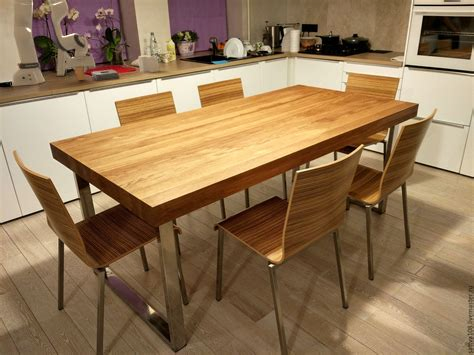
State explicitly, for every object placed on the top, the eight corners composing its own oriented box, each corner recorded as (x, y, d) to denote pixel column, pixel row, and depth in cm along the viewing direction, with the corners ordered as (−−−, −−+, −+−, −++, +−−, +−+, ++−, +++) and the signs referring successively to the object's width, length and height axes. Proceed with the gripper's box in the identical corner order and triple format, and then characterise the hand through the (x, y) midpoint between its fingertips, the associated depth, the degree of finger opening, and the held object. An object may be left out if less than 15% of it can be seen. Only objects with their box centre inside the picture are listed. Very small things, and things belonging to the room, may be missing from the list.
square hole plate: (97, 80, 289) (96, 74, 287) (92, 77, 301) (91, 71, 300) (118, 77, 296) (118, 72, 294) (113, 74, 308) (112, 69, 307)
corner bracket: (140, 71, 320) (138, 56, 315) (151, 69, 327) (150, 54, 322) (147, 72, 313) (145, 57, 308) (159, 70, 320) (157, 55, 315)
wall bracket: (77, 90, 337) (62, 74, 308) (71, 90, 337) (56, 74, 308) (77, 66, 341) (63, 48, 312) (72, 66, 341) (58, 48, 312)
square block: (78, 79, 288) (76, 68, 285) (79, 78, 292) (77, 67, 289) (83, 79, 289) (81, 68, 286) (85, 78, 292) (83, 67, 289)
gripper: (65, 55, 289) (64, 70, 284) (93, 54, 291) (93, 69, 286) (68, 60, 295) (66, 76, 290) (96, 59, 297) (95, 75, 292)
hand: (80, 73), depth 288 cm, fingers closed on square block, 4 cm apart
